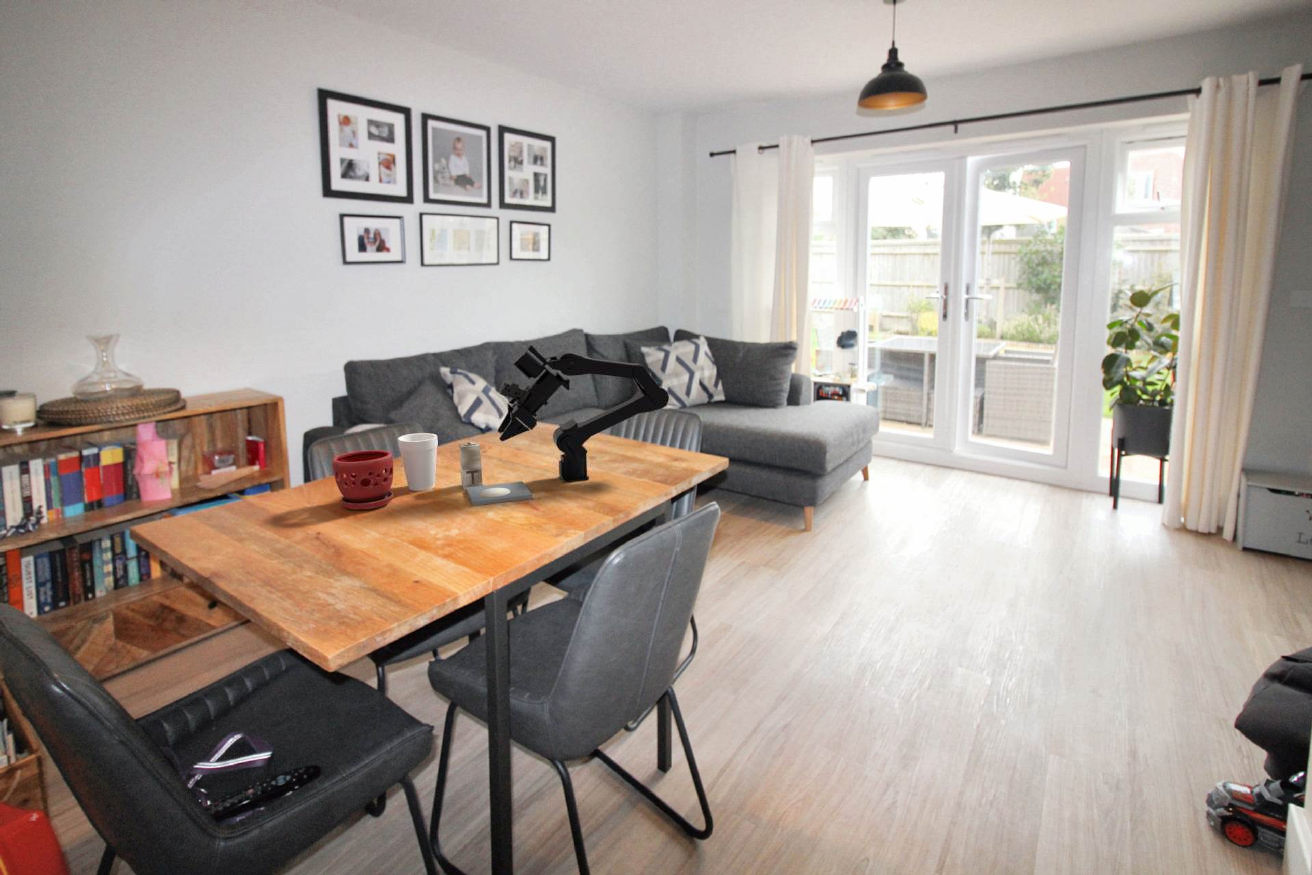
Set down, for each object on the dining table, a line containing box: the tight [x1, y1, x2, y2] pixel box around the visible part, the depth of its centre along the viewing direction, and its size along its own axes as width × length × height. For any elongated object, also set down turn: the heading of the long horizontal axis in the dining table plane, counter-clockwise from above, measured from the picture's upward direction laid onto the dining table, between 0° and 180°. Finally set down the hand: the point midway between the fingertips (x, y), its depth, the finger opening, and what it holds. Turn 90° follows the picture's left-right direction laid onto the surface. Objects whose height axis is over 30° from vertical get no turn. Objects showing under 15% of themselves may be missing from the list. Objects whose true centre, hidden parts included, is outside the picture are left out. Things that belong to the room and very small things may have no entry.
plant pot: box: [331, 449, 394, 511], centre depth 174 cm, size 13×13×12 cm
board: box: [465, 480, 533, 507], centre depth 182 cm, size 14×12×1 cm
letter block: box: [458, 441, 484, 491], centre depth 188 cm, size 5×5×11 cm
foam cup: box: [397, 432, 439, 492], centre depth 187 cm, size 10×9×13 cm
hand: (499, 436), depth 188 cm, fingers open, 9 cm apart
